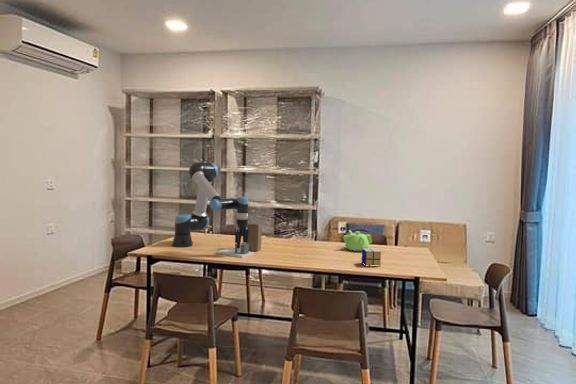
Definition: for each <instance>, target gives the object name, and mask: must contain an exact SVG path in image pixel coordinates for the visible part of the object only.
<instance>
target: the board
mask: <svg viewBox="0 0 576 384" xmlns="http://www.w3.org/2000/svg"><path fill="white" fill-rule="evenodd" d="M216 254H219V255H224V256H229V257H234V256H235V257H236V258H246V257H250V256H254V254H255V251H249V253H246V254H241V253H235V248H231V247H230V248H228V247H227V248H224V249H221V250H217V251H216ZM235 257H234V258H235Z"/></svg>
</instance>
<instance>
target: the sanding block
mask: <svg viewBox="0 0 576 384" xmlns="http://www.w3.org/2000/svg"><path fill="white" fill-rule="evenodd" d="M234 249H235V253H237V243H235V244H234ZM249 252H250V251H249V244H242V242H241V254H246V253H249Z"/></svg>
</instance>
